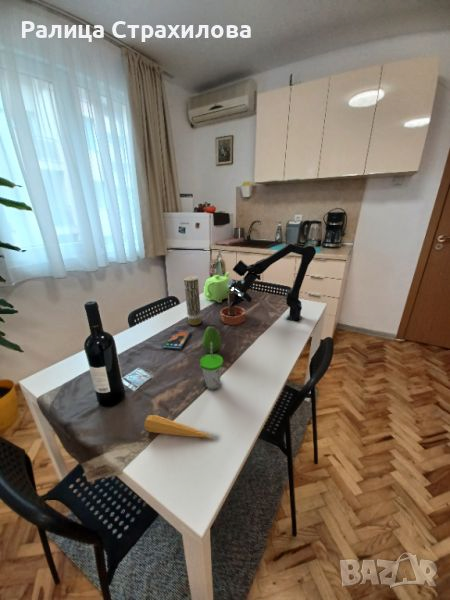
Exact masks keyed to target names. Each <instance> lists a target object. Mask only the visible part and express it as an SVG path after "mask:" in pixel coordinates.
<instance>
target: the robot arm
mask: <svg viewBox="0 0 450 600" xmlns="http://www.w3.org/2000/svg"><path fill="white" fill-rule="evenodd" d="M291 253H293V254H296V255H299V256H301V257H300V264H299V267H298V270H297V272H296V274H295V275H296V276H295V278H294V282H293V284H292V287H291V289H287V293H286V294H285V301H286V305H287V306H288V307H289V312H288V313H289V314H288V315H287V317H286V320H289V321H292V322H297V323H300V321H301V320H302V319H303V315H302V316H301V313H302V309H303V306H302V305H303V304H302V301H301V300H300V291H301V288H302V285H303V282H304V279H305V277H306V274H307V271H308V268H309V265H310V264H311V263H312V261H313V260H314V258H315V256H316V254H317V249H316V247H315V246H314V245H313V244H311V243H306V244H303V243H295V242H294V243H293V242H289V243H287V244H286V245H285V246H284V247H282V248H280V249H278V250H277V251H275V252H273V254H270V255H269V256H268V257H265V258H262V259H259V260H257V261H256V262H255V263H252V264H246V263H245V262H244V261H243V260H241V259H240V260H239V261H238V262H236V264H235V265H234V267H233V268H232V270H231V271H233V272H234V273H235V274H236V275H238V276H239V277H243V278H242V279H241V278H240V279H234V278H232V277H231V278H229V279H228V280H229V283H228V285H227V287H228V288H229V289H230V291H233V292H234V300H233V301H232V303H231V305H230V306H231V307H232V306H234V305H235V306H236V305H238V304H240V303H243V302H246V301H247V302H248V303H250V304H251V302H252V301H253V297H252V296H251V295H250V294H248V290H249V289H250V290H252V288H253V287H252V285H253V284H254V283H255V282H256V281H257V280H258V281H261V280H262V279H261V278H262V277H261V275H262V274H263V273H264V272H265V271H266V270H268V269H269V268H270V267H271V266H272V265H273V264H275V263H276V262H278V261H280V260H281V259H283V258H284V257H287V256H288V255H289V254H291ZM226 304H227V305H228V301H227V303H226Z"/></svg>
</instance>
